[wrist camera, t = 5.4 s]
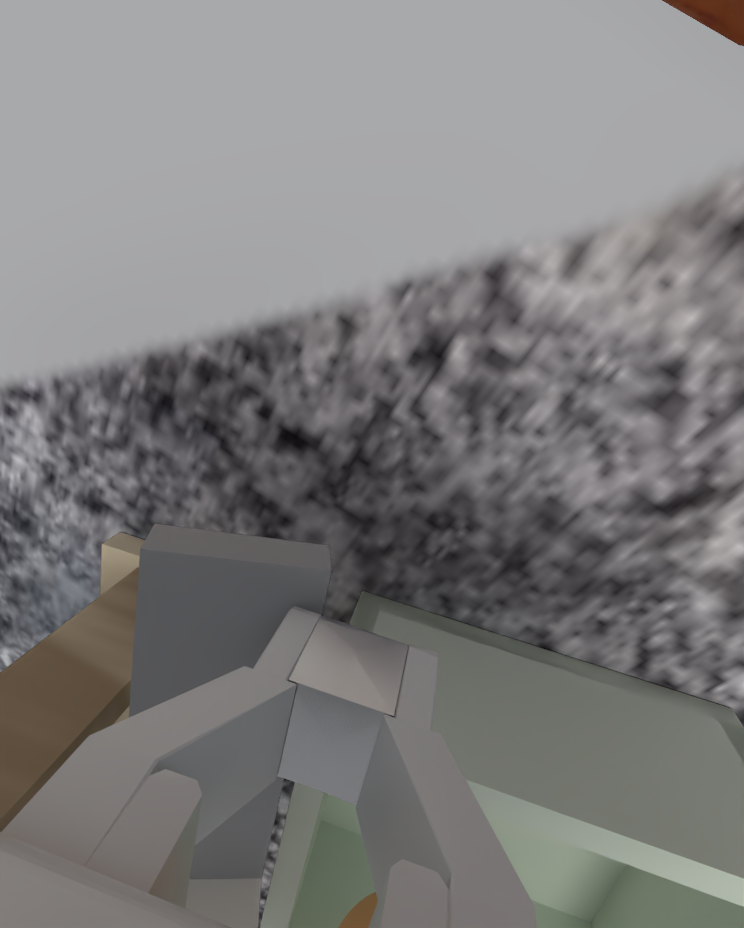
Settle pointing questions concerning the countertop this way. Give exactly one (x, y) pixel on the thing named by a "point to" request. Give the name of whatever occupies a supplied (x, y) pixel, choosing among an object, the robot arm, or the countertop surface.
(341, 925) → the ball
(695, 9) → the bread
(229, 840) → the lever
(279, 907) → the bin
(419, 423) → the countertop surface
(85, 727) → the lever base
